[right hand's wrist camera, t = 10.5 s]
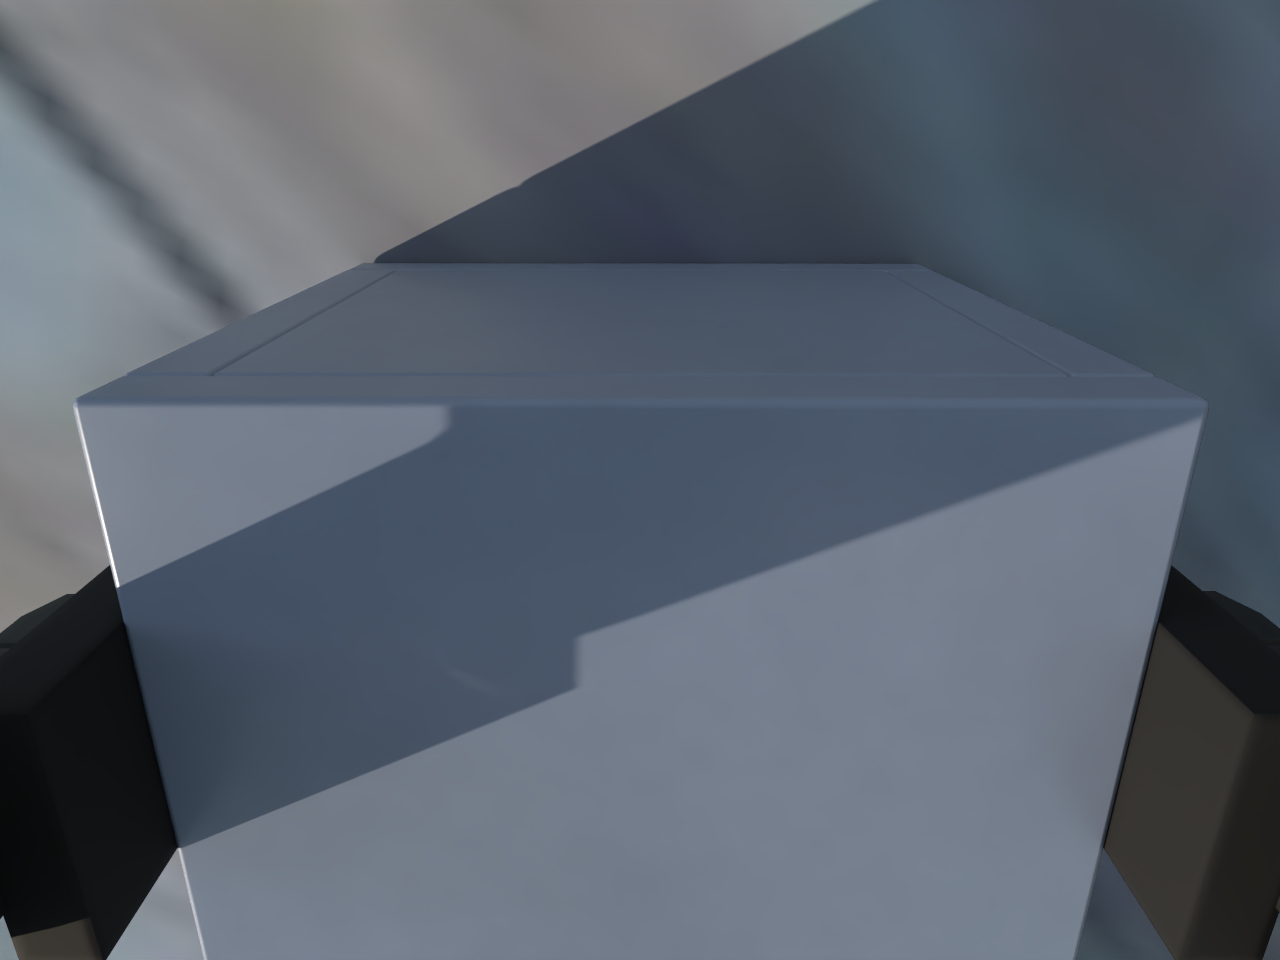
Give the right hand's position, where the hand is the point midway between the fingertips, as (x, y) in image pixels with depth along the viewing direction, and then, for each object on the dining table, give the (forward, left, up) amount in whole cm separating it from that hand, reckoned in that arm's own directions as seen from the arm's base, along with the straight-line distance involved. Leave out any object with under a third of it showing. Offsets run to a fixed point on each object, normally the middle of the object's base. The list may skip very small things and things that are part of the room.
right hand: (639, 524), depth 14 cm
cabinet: (+6, +3, -3) cm, 7 cm away
